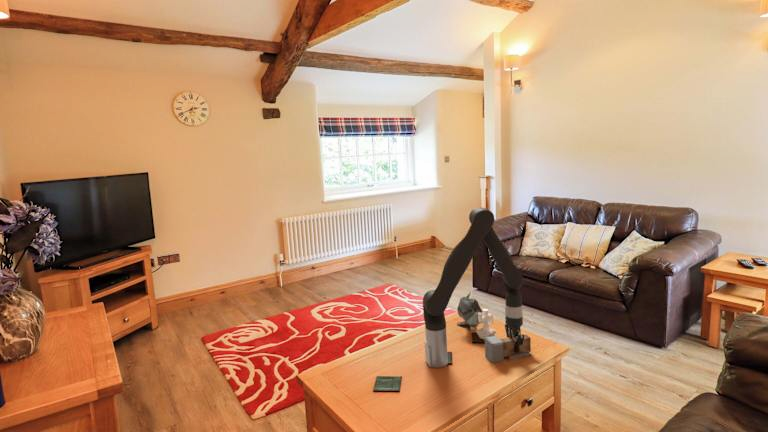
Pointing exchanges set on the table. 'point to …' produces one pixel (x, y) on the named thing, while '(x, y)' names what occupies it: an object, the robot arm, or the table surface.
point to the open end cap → (519, 355)
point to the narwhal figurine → (469, 312)
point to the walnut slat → (509, 346)
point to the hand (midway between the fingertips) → (514, 349)
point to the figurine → (485, 324)
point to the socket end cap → (494, 349)
